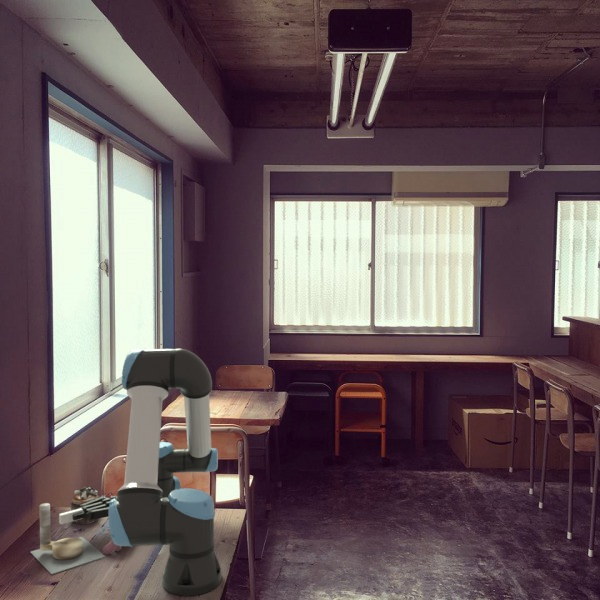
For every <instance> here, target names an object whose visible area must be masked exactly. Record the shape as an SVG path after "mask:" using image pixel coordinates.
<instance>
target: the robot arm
mask: <svg viewBox="0 0 600 600" xmlns="http://www.w3.org/2000/svg"><path fill="white" fill-rule="evenodd" d="M121 375H122V377H121V386H122V388H123V389H124V390H125V391H126V395H127V396H128V398H130V399H131V403H130V414H129V426H128V438H127V449H126V459H125V470H124V471H125V472H124V480H123V481H124V482H123V485H122V486H121V487H120V488H119V489H118V490H117V493H116V495H112V496H110V497H107V495H106V494H103V495H101V496H99V497H98V498H97V499H95V500H92V501H89V502H87V503H84V504H81V505H80V509H76V510H72V511H71V510H69V511H66V512H61V513H59V514H58V515H59V516H58V517H59V518H58V522H59V524H60V525H64V524H68V523H72V522H74V521H76V520H79V519H83V518H84V519H87V518H89V520H93V519H98V520H99V519H104V518H108V528H109V534H110V539H111V541H113V542H114V544H115V545H117V546H122V547H130V548H133V547H139V546H141V547H142V546H144V547H145V546H165V545H169V546H168V547H169V549H168V550H169V551H168V553H169V554H168V557H167V561H166V563H165V565H164V570H163V573H162V587H163V588H164V590H166V591H167V592H168V593H170V594H172V595H173V594H174V595H178V596H182V597H183V596H184V597H185V596H186V597H187V596H188V597H190V595H192V596H198V594H199V595H202V593H203V594H206V593H208V592H209V593H210V592H211V591H212V590H214V589H216V588H217V587H218V586H219V585H220V583H221V582H222V568H221V565H220V562H219V559H218V557H217V554H216V551H215V515H216V512H215V503H214V499H213V497H212V496H211V495H210V494H209V493H208V492H205V491H204V490H200V489H197V488H190V487H189V488H188V487H186V488H185V487H184V488H182V486H181V481H180V479H179V478H178V477H177V476H174V474H175V473H176V474H177V473H210V472H215V471H217V470H218V466H219V465H218V464H219V462H218V461H219V451H218V449H217V448H215V447H212V434H211V433H212V432H211V410H210V409H211V408H210V407H211V405H210V394H211V393H212V391H213V380H212V376H211V372H210V371H209V368H208V367H207V365H206V363H204V361H203V360H202V359H201V358H200V357H199V356H198V355H197V354H195V353H194V352H192V351H190V350H188V349H183V348H157V349H156V348H141V349H133V350H131V351H129V353H127V355H126V357H125V359H124V362H123V365H122V372H121ZM172 389H174V390H176V389H179V392H180V394H181V395H182V396H183V401H184V414H185V416H184V417H185V428H186V438H187V440H186V441H187V448H174V445H173V443H171V442H166V441H161V431H162V414H163V402H164V400H165V399H166V398H168V396H169V391H170V390H172Z"/></svg>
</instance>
